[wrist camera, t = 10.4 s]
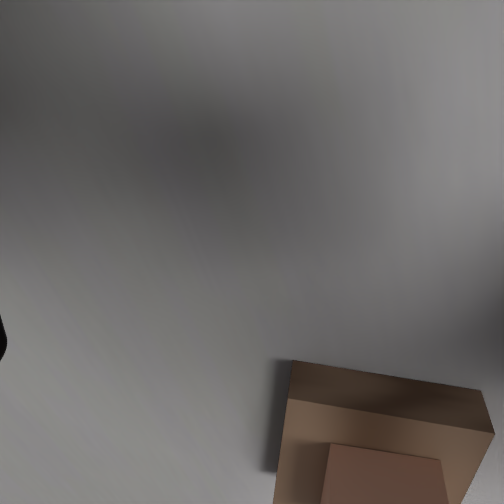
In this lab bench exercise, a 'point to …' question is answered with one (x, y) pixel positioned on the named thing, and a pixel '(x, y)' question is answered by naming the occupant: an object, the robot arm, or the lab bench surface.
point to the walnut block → (377, 426)
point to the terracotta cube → (381, 478)
